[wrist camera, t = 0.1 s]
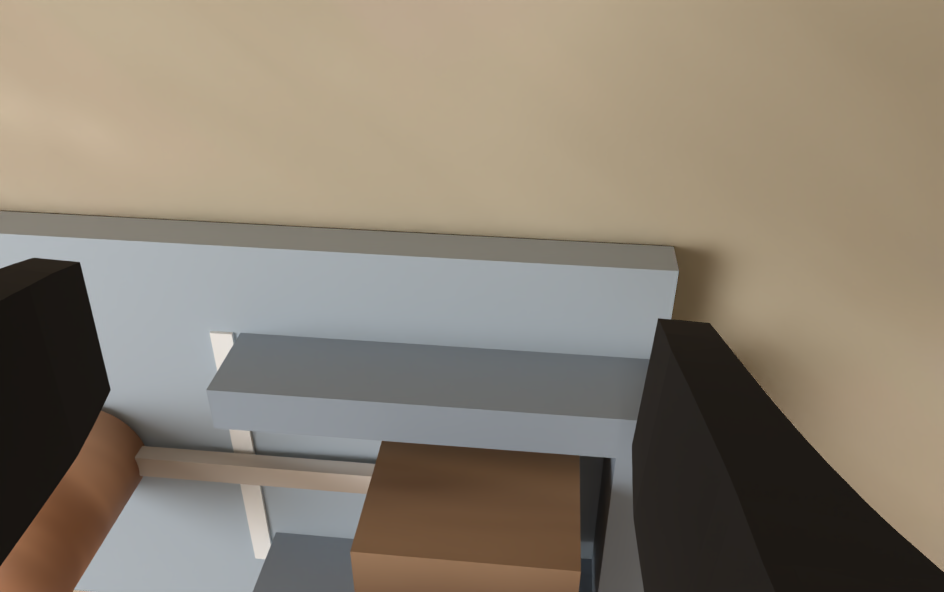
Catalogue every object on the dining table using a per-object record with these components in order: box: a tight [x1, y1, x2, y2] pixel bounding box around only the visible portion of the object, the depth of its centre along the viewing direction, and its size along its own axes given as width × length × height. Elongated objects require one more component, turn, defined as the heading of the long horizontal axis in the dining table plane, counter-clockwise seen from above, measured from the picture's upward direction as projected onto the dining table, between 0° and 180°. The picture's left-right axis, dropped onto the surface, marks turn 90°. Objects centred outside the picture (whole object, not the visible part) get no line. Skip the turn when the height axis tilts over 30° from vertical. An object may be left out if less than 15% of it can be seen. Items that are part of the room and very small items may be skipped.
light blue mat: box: [0, 211, 679, 592], centre depth 24 cm, size 14×27×4 cm, turn 90°
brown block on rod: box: [0, 411, 581, 592], centre depth 22 cm, size 5×16×5 cm, turn 90°
